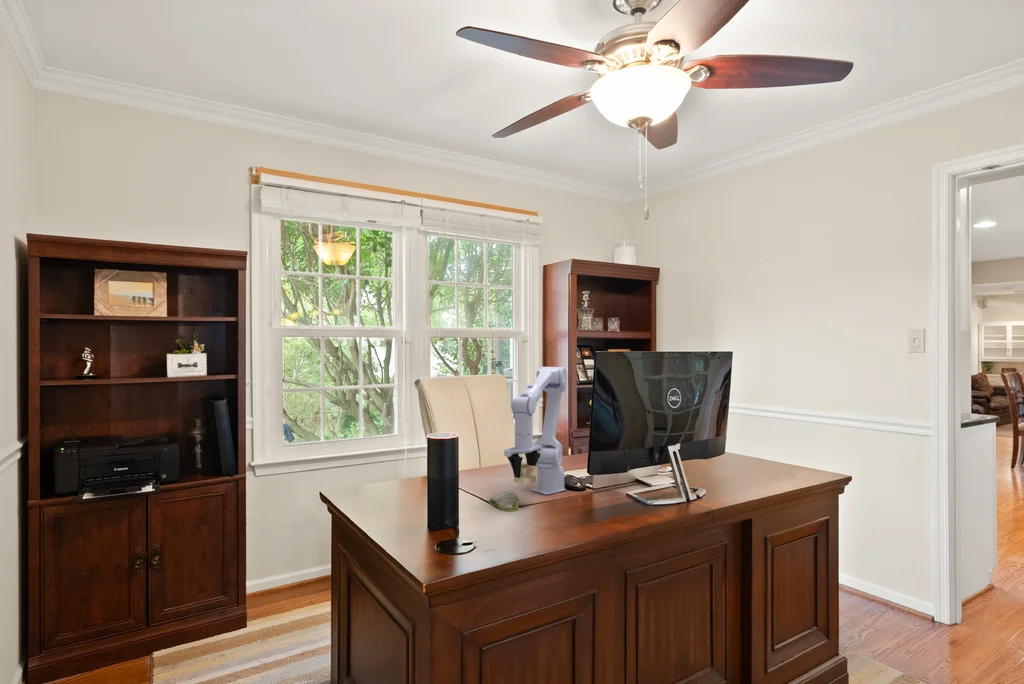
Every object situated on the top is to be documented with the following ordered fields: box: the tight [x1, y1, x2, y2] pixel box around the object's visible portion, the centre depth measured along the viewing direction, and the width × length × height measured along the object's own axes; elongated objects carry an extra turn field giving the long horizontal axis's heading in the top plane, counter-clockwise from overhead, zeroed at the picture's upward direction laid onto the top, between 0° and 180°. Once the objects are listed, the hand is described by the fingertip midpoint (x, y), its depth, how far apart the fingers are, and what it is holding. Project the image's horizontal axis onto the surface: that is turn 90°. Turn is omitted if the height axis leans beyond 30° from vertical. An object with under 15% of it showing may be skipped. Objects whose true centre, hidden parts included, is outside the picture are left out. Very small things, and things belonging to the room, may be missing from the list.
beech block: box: [513, 463, 537, 485], centre depth 181 cm, size 5×5×5 cm
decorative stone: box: [488, 489, 521, 513], centre depth 186 cm, size 23×10×4 cm, turn 4°
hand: (523, 476), depth 181 cm, fingers closed on beech block, 5 cm apart
